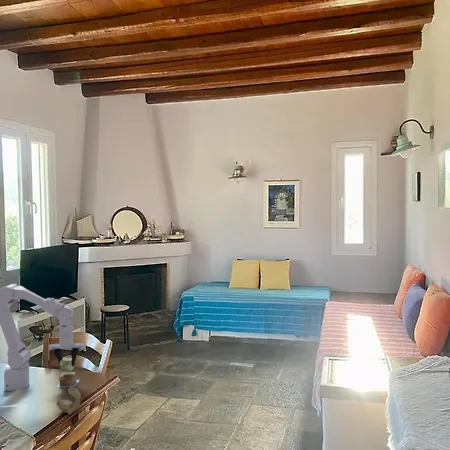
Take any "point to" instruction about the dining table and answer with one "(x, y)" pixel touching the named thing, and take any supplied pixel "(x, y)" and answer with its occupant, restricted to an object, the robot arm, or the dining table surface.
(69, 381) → the walnut base
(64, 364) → the sage block
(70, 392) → the beige lumpy piece
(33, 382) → the dining table surface
